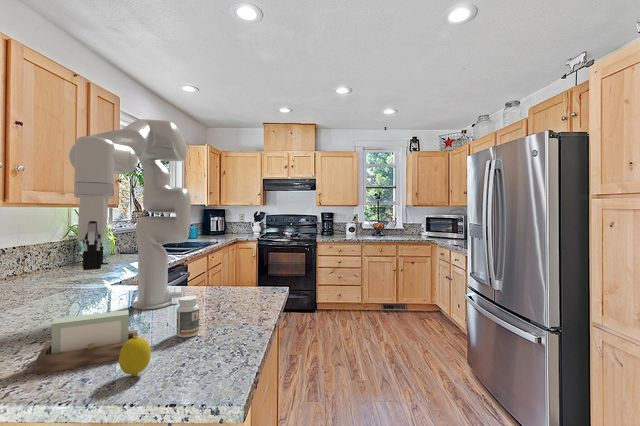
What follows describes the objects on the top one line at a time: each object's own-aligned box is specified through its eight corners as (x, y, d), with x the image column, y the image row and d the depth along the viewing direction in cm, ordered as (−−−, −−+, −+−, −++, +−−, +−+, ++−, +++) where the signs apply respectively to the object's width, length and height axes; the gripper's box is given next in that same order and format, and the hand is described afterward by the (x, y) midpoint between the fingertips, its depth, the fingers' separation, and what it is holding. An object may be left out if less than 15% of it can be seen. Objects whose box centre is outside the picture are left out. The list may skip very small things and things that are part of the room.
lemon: (127, 369, 68) (128, 331, 68) (154, 369, 68) (155, 331, 68) (112, 383, 62) (113, 341, 62) (142, 382, 63) (143, 341, 63)
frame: (127, 342, 79) (128, 310, 79) (128, 348, 76) (128, 314, 76) (54, 354, 72) (55, 318, 72) (51, 361, 69) (51, 324, 69)
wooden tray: (136, 341, 82) (137, 325, 83) (138, 355, 74) (138, 338, 74) (45, 356, 73) (45, 339, 73) (35, 374, 65) (36, 354, 65)
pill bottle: (203, 332, 90) (203, 296, 90) (188, 339, 84) (189, 301, 85) (186, 329, 92) (187, 294, 92) (171, 336, 86) (172, 299, 86)
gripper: (78, 192, 80) (77, 262, 80) (69, 188, 65) (68, 273, 65) (114, 194, 84) (113, 260, 84) (113, 190, 69) (112, 270, 69)
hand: (93, 266), depth 75 cm, fingers open, 9 cm apart
